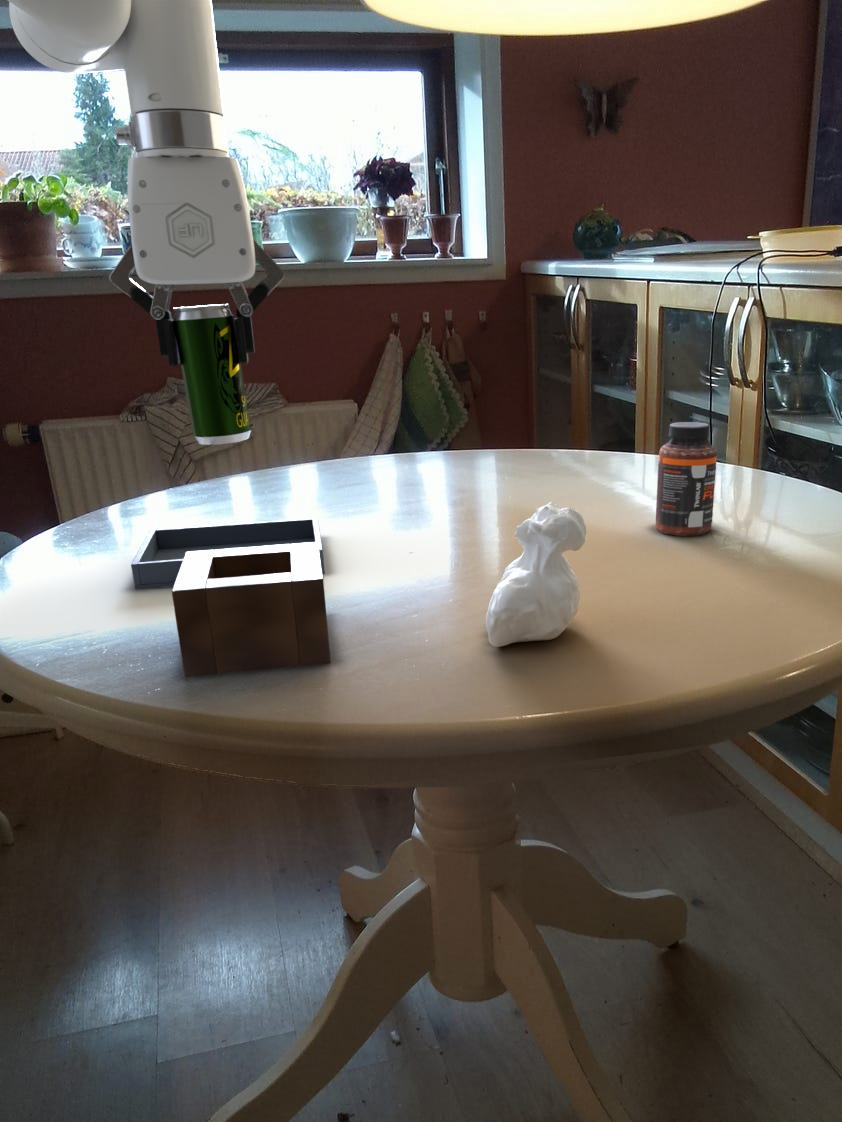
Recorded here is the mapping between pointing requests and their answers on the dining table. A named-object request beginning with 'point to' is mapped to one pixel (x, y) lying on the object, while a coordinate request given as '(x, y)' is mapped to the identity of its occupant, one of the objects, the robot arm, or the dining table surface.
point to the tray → (213, 545)
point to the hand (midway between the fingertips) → (209, 361)
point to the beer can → (212, 374)
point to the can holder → (251, 609)
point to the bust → (538, 580)
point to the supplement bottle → (686, 481)
